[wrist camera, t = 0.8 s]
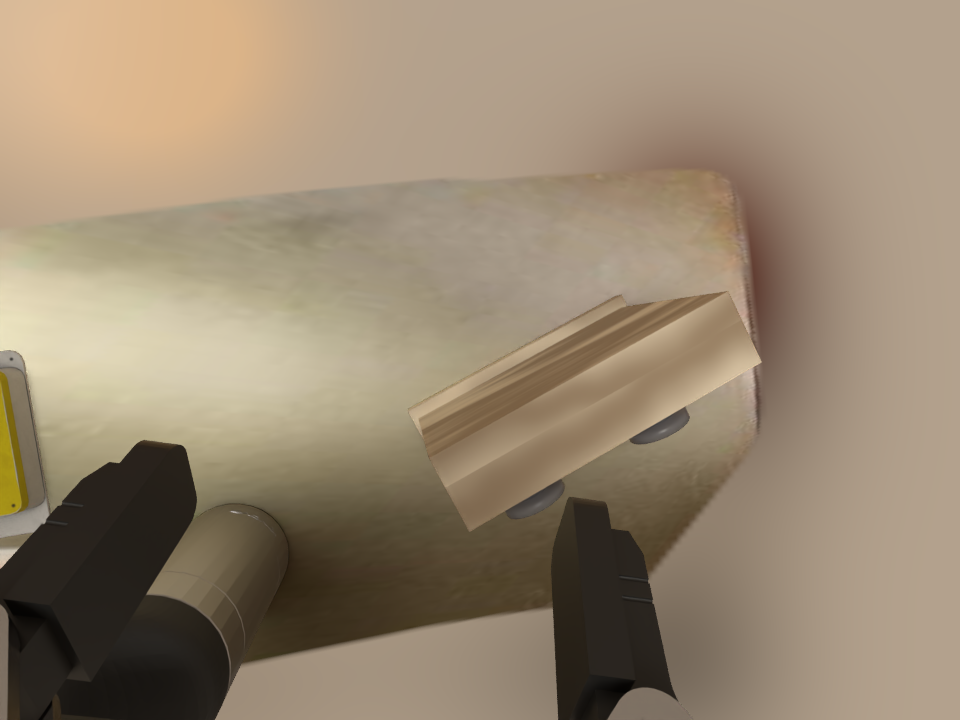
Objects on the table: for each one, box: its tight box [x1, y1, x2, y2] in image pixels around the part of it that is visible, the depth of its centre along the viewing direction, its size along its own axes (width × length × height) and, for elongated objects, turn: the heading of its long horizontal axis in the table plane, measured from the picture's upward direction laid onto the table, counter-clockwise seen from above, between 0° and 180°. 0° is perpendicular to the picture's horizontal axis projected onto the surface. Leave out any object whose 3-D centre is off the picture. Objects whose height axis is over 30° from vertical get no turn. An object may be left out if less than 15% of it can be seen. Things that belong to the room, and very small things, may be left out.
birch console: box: [408, 291, 761, 532], centre depth 42 cm, size 8×22×18 cm, turn 118°
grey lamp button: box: [505, 479, 565, 519], centre depth 41 cm, size 4×5×5 cm
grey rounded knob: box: [629, 407, 690, 444], centre depth 42 cm, size 4×5×5 cm
